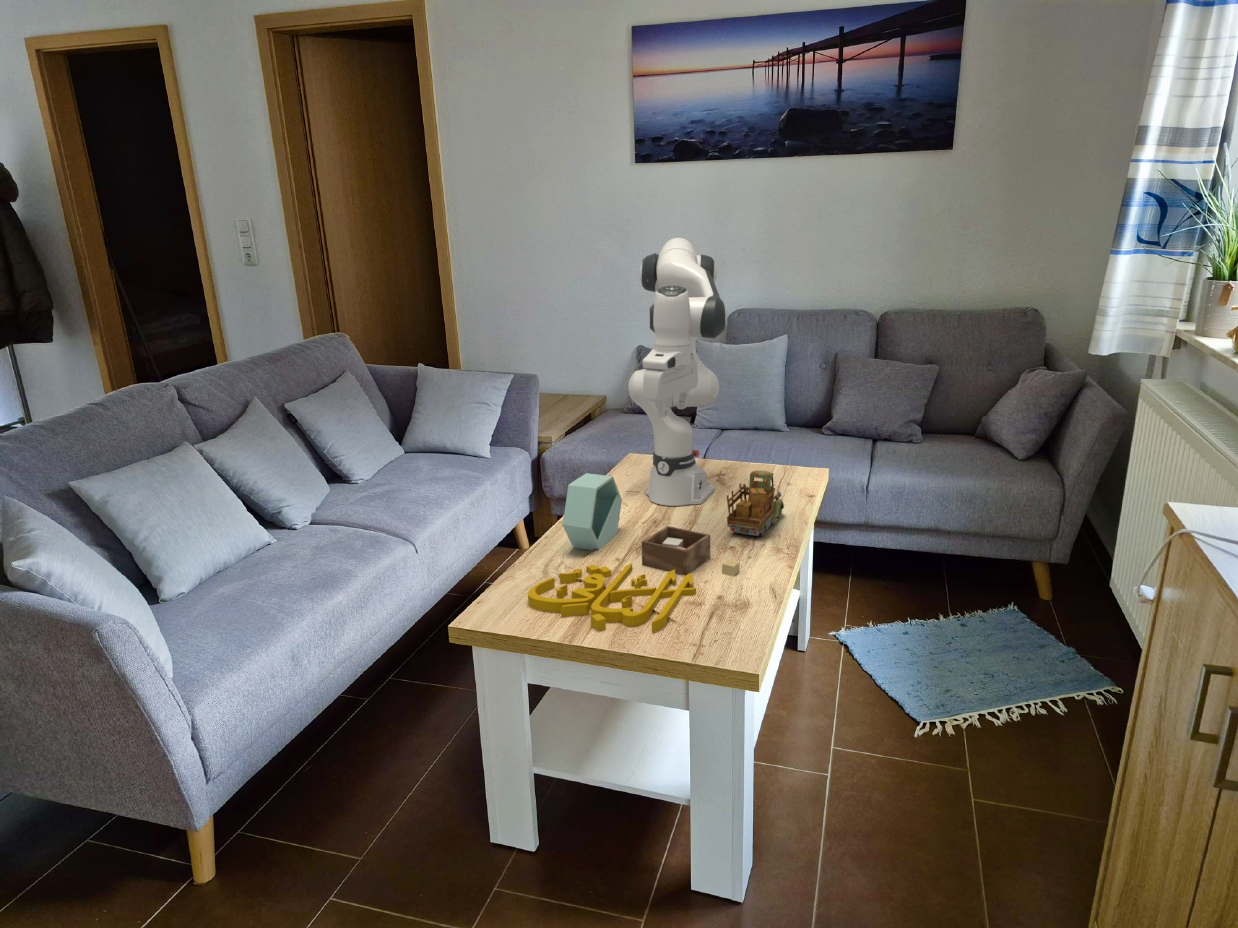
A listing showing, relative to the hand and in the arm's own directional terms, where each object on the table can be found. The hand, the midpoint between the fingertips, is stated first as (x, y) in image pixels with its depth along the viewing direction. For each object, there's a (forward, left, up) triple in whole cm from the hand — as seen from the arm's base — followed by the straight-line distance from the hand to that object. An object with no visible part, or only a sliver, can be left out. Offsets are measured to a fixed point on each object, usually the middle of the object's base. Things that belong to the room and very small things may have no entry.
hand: (672, 412), depth 206 cm
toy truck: (-23, +13, -35) cm, 44 cm away
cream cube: (+8, +5, -34) cm, 35 cm away
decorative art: (+33, +4, -36) cm, 49 cm away
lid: (+9, +21, -36) cm, 42 cm away
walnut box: (+10, +7, -35) cm, 37 cm away
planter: (+9, -18, -35) cm, 41 cm away
